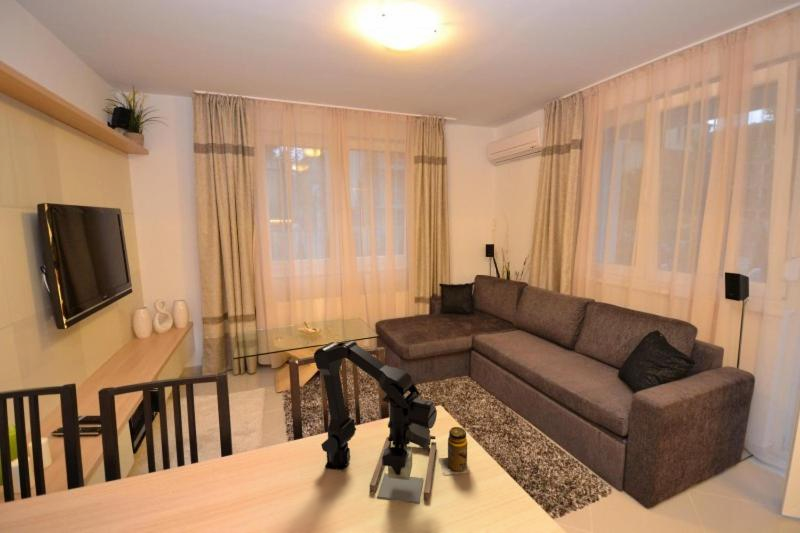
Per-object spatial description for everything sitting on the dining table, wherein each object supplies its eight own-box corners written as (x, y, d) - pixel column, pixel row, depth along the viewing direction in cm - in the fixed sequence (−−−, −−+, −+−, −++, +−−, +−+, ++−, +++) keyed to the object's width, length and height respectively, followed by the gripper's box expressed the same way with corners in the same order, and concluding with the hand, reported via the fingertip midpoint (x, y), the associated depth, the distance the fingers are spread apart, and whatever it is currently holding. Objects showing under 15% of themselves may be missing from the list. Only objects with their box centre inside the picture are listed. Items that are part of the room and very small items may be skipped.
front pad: (377, 497, 101) (377, 496, 101) (384, 474, 110) (384, 473, 110) (419, 503, 99) (419, 502, 99) (423, 479, 108) (423, 478, 108)
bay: (369, 492, 103) (369, 478, 102) (387, 440, 126) (387, 428, 125) (429, 500, 100) (429, 485, 99) (436, 445, 123) (436, 433, 122)
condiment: (471, 472, 110) (471, 437, 108) (444, 475, 109) (444, 440, 107) (463, 456, 117) (464, 423, 115) (438, 459, 116) (438, 425, 114)
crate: (388, 477, 101) (387, 457, 100) (392, 462, 107) (392, 443, 106) (409, 480, 100) (408, 460, 99) (412, 465, 106) (412, 446, 105)
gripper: (423, 441, 90) (423, 495, 93) (431, 402, 108) (431, 448, 111) (380, 436, 92) (382, 489, 95) (395, 398, 110) (396, 444, 113)
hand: (400, 466), depth 103 cm, fingers closed on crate, 6 cm apart
